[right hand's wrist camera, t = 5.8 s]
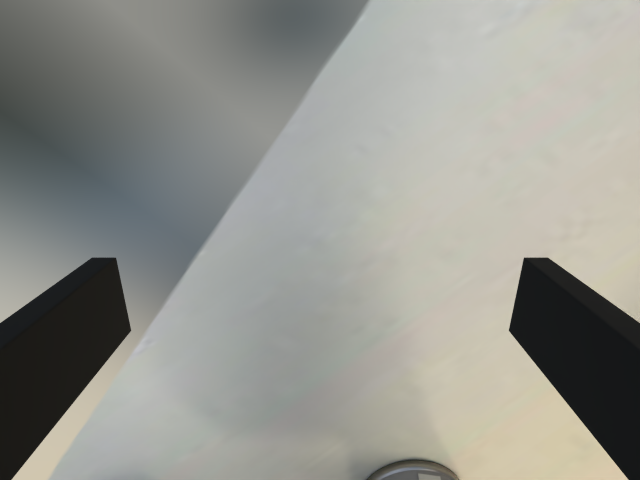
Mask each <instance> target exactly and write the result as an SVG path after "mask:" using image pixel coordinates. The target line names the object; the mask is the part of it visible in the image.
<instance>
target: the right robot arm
mask: <svg viewBox="0 0 640 480" xmlns="http://www.w3.org/2000/svg"><path fill="white" fill-rule="evenodd" d="M130 331H131V328H130V323H129V318H128V313H127V309H126V304H125V299H124V294H123V289H122V284H121V280H120V275H119V270H118V265H117V260H116V258H91V259H90V260H88V261H87V262H85V263H84V264H83V265H81V266H80V267H78V268H77V269H76V270H74V271H73V272H71V273H70V274H69V275H67V276H66V277H64V278H63V279H62V280H60V281H59V282H57V283H56V284H55V285H53V286H52V287H50V288H49V289H48V290H46V291H45V292H43V293H42V294H41V295H39V296H38V297H36V298H35V299H34V300H32V301H31V302H29V303H28V304H27V305H25V306H24V307H22V308H21V309H19V310H18V311H17V312H15V313H14V314H12V315H11V316H10V317H8V318H7V319H5V320H4V321H3V322H1V323H0V480H11V479H12V478H13V477H14V476H15V474H16V473H17V472H18V471H19V470H20V468H21V467H22V466H23V465H24V463H25V462H26V461H27V460H28V458H29V457H30V456H31V455H32V453H33V452H34V451H35V450H36V448H37V447H38V446H39V445H40V443H41V442H42V441H43V440H44V438H45V437H46V436H47V435H48V433H49V432H50V431H51V430H52V428H53V427H54V426H55V425H56V423H57V422H58V421H59V420H60V418H61V417H62V416H63V415H64V414H65V412H66V411H67V410H68V408H69V407H70V406H71V405H72V404H73V402H74V401H75V400H76V398H77V397H78V396H79V395H80V394H81V392H82V391H83V390H84V389H85V387H86V386H87V385H88V384H89V382H90V381H91V380H92V379H93V377H94V376H95V375H96V374H97V372H98V371H99V370H100V369H101V367H102V366H103V365H104V364H105V362H106V361H107V360H108V359H109V357H110V356H111V355H112V354H113V352H114V351H115V350H116V349H117V347H118V346H119V345H120V344H121V342H122V341H123V340H124V339H125V337H126V336H127V335H128V334H129V333H130ZM509 331H510V333H511V334H512V335H513V336H514V338H515V339H516V340H517V341H518V343H519V344H520V345H521V346H522V348H523V349H524V350H525V351H526V352H527V354H528V355H529V356H530V357H531V359H532V360H533V361H534V362H535V364H536V365H537V366H538V367H539V369H540V370H541V371H542V372H543V374H544V375H545V376H546V377H547V379H548V380H549V381H550V382H551V384H552V385H553V386H554V387H555V389H556V390H557V391H558V392H559V394H560V395H561V396H562V397H563V399H564V400H565V401H566V402H567V404H568V405H569V406H570V407H571V409H572V410H573V411H574V412H575V414H576V415H577V416H578V417H579V418H580V420H581V421H582V422H583V423H584V425H585V426H586V427H587V428H588V430H589V431H590V432H591V433H592V435H593V436H594V437H595V438H596V440H597V441H598V442H599V443H600V445H601V446H602V447H603V448H604V450H605V451H606V452H607V453H608V455H609V456H610V457H611V458H612V460H613V461H614V462H615V463H616V465H617V466H618V467H619V468H620V470H621V471H622V472H623V473H624V475H625V476H626V477H627V478H628V479H629V480H640V323H639V322H637V321H636V320H635V319H633V318H632V317H630V316H629V315H628V314H626V313H625V312H623V311H622V310H621V309H619V308H618V307H616V306H615V305H613V304H612V303H611V302H609V301H608V300H606V299H605V298H604V297H602V296H601V295H599V294H598V293H597V292H595V291H594V290H592V289H591V288H590V287H588V286H587V285H585V284H584V283H583V282H581V281H580V280H578V279H577V278H576V277H574V276H573V275H571V274H570V273H569V272H567V271H566V270H564V269H563V268H562V267H560V266H559V265H557V264H556V263H555V262H553V261H552V260H550V259H549V258H524V260H523V265H522V270H521V275H520V280H519V284H518V289H517V294H516V299H515V304H514V309H513V313H512V318H511V323H510V328H509ZM367 480H459V479H458V478H457V476H456V475H455V474H454V473H453V472H452V471H450V470H449V469H447V468H446V467H444V466H441V465H439V464H436V463H433V462H428V461H421V460H410V461H402V462H397V463H394V464H391V465H388V466H386V467H383V468H381V469H380V470H378V471H376V472H375V473H374V474H372V475H371V476H370V477H369V478H368V479H367Z"/></svg>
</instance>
